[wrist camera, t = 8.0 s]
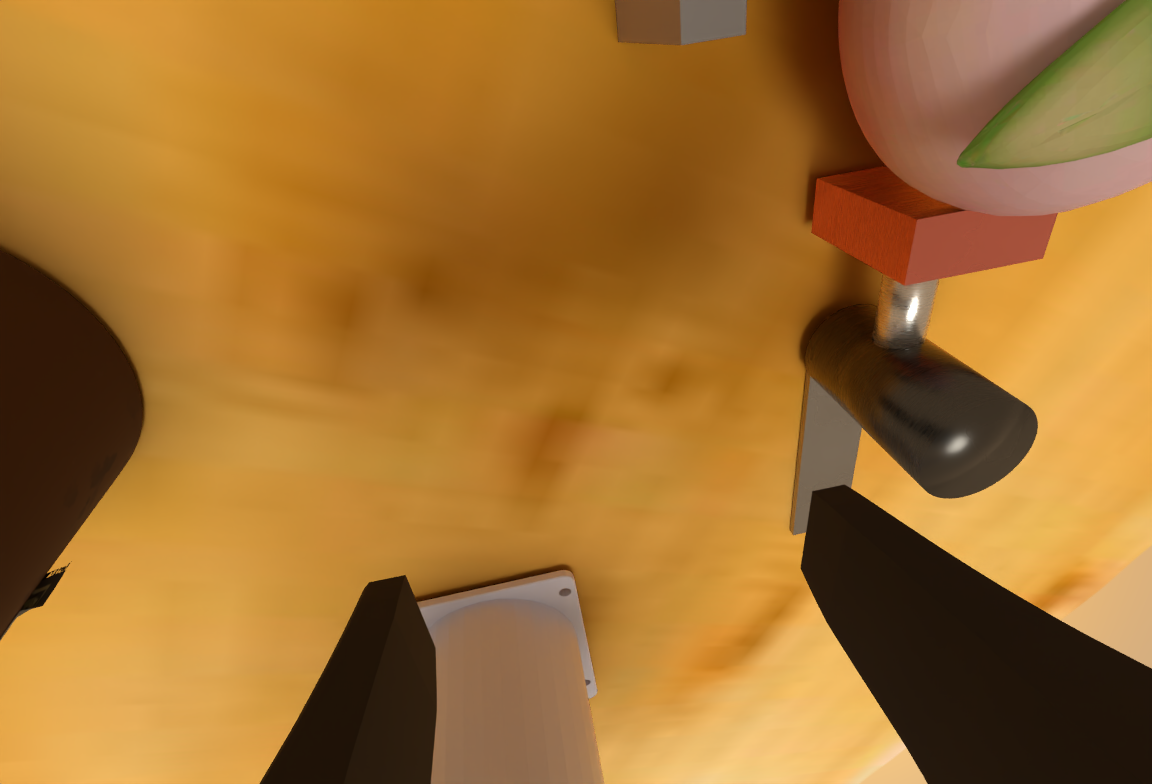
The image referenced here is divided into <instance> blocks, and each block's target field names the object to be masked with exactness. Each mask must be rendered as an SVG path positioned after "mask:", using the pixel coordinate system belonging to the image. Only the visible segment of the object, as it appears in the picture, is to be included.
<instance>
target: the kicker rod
mask: <svg viewBox="0 0 1152 784" xmlns="http://www.w3.org/2000/svg"><path fill="white" fill-rule="evenodd" d="M1057 214H1058V213H1054V214H1048V215H1039V216H995V215H990V214H985V213H980V212H975V211H970V210H965V209H961V208H958V207H955V206H952V205H950V204H947V203H944V202H941V201H938V200H935V199H933V198H931V197H929V196H927V195H926V194H924V193H922V192H920V191H919V190H917V189H915V188H913V187H911V186H910V185H908V184H907V183H906V182H904V181H903V180H902V179H901V178H899V177H898V176H897V175H896V174H895V173H893V172H892V171H891V170H890V169H889V168H888V167H887V166H882V167H877V168H871V169H866V170H860V171H855V172H849V173H844V174H839V175H833V176H828V177H822V178H817V181H816V191H815V202H814V212H813V223H812V233H813V234H815V235H817V236H818V237H820V238H822V239H824V240H825V241H827V242H829V243H831V244H832V245H834V246H836V247H837V248H839V249H841V250H843V251H844V252H846V253H848V254H850V255H851V256H853V257H855V258H857V259H858V260H860V261H862V262H864V263H865V264H867V265H869V266H871V267H872V268H874V269H876V270H878V271H879V272H881V273H883V277H882V282H881V288H880V294H879V300H878V306H874V305H868V304H859V305H854V306H850V307H847V308H844V309H842V310H840V311H838V312H836V313H835V314H833V315H831V316H830V317H829V318H828V319H826V320H825V321H824V322H823V323H822V324H821V325H820V326H819V327H818V328H817V330H816V331H815V333H814V334H813V336H812V337H811V339H810V341H809V343H808V346H807V349H806V354H805V364H806V368H807V371H808V373H809V375H810V376H811V377H812V378H813V379H814V380H815V381H816V382H817V383H818V384H819V385H820V386H821V387H822V388H823V389H824V390H825V391H826V392H827V393H828V394H829V395H830V396H831V397H832V398H833V399H834V400H835V401H836V402H837V403H838V404H839V405H840V406H841V407H842V408H843V409H844V410H845V411H846V412H847V413H848V414H849V415H850V416H851V417H852V418H853V419H854V420H855V421H856V422H857V423H858V424H859V425H860V426H861V427H862V428H863V429H864V430H865V431H866V432H867V433H868V434H869V435H870V436H871V437H872V438H873V439H874V440H875V441H876V442H877V443H878V444H879V445H880V446H881V447H882V448H883V449H884V450H885V451H886V452H887V453H888V454H889V455H890V456H891V457H892V458H893V459H894V460H895V461H896V462H897V463H898V464H899V465H900V466H901V467H902V468H903V469H904V470H905V471H906V472H907V473H908V474H909V475H910V476H911V477H912V478H913V479H914V480H915V481H916V482H917V483H918V484H919V485H920V486H921V487H922V488H923V489H924V490H926V491H927V492H928V493H929V494H931V495H933V496H936V497H939V498H959V497H964V496H968V495H971V494H974V493H977V492H979V491H981V490H984V489H986V488H988V487H989V486H991V485H993V484H995V483H996V482H998V481H999V480H1001V479H1002V478H1003V477H1005V476H1006V475H1007V474H1008V473H1010V472H1011V471H1012V470H1013V469H1014V468H1015V467H1016V466H1017V465H1018V464H1019V463H1020V462H1021V461H1022V460H1023V458H1024V457H1025V456H1026V454H1027V453H1028V451H1029V450H1030V448H1031V446H1032V444H1033V442H1034V440H1035V437H1036V434H1037V428H1038V422H1037V417H1036V415H1035V413H1034V411H1033V410H1032V409H1031V408H1030V407H1029V406H1028V405H1026V404H1025V403H1023V402H1022V401H1020V400H1019V399H1017V398H1015V397H1014V396H1012V395H1011V394H1009V393H1008V392H1006V391H1005V390H1003V389H1002V388H1000V387H999V386H997V385H996V384H994V383H993V382H991V381H990V380H988V379H987V378H985V377H984V376H982V375H981V374H979V373H978V372H976V371H975V370H973V369H972V368H970V367H969V366H967V365H966V364H964V363H963V362H961V361H960V360H958V359H956V358H955V357H953V356H952V355H950V354H949V353H947V352H946V351H944V350H943V349H941V348H940V347H938V346H937V345H935V344H934V343H932V342H931V341H929V340H928V339H926V335H927V331H928V326H929V322H930V318H931V313H932V309H933V305H934V300H935V296H936V292H937V287H938V283H939V279H941V278H946V277H952V276H957V275H962V274H967V273H972V272H977V271H982V270H987V269H992V268H997V267H1002V266H1007V265H1012V264H1017V263H1022V262H1027V261H1032V260H1037V259H1042V258H1043V257H1044V254H1045V250H1046V247H1047V244H1048V241H1049V238H1050V235H1051V232H1052V229H1053V226H1054V223H1055V220H1056V217H1057Z"/></svg>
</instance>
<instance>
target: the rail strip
mask: <svg viewBox="0 0 1152 784" xmlns="http://www.w3.org/2000/svg"><path fill="white" fill-rule="evenodd" d="M861 429H862V427H861V426H860V425H859V424H858V423H857V422H856V421H855V420H854V419H853V418H852V417H851V416H850V415H849V414H848V413H847V412H846V411H845V410H844V409H843V408H842V407H841V406H840V405H839V404H838V403H837V402H836V401H835V400H834V399H833V398H832V397H831V396H830V395H829V394H828V393H827V392H826V391H825V390H824V389H823V388H822V387H821V386H820V385H819V384H818V383H817V382H816V381H815V380H814V379H813V378H812V377H811V376H810V375H809V373H808V371H807V370H806V380H805V389H804V399H803V408H802V418H801V428H800V437H799V447H798V456H797V466H796V476H795V485H794V495H793V504H792V514H791V523H790V531H791V533H792V534H793V535H796V534H801V533H805V532H806V529H807V523H808V516H809V509H810V503H811V496H812V491H815V490H820V489H825V488H830V487H835V486H840V485H844V484H845V485H846V486H848V487H850V488H851V485H852V480H853V474H854V468H855V463H856V457H857V452H858V446H859V440H860V435H861Z"/></svg>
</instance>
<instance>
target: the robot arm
mask: <svg viewBox="0 0 1152 784" xmlns="http://www.w3.org/2000/svg"><path fill="white" fill-rule="evenodd" d="M801 570H802V572H803V574H804V577H805V579H806V581H807V583H808V585H809V587H810V589H811V591H812V594H813V596H814V598H815V600H816V602H817V604H818V606H819V608H820V610H821V612H822V614H823V616H824V618H825V620H826V622H827V623H828V625H829V627H830V628H831V630H832V631H833V633H834V635H835V636H836V638H837V639H838V641H839V643H840V644H841V646H842V647H843V649H844V651H845V652H846V654H847V655H848V657H849V658H850V660H851V662H852V663H853V665H854V666H855V668H856V669H857V671H858V673H859V674H860V676H861V677H862V679H863V680H864V682H865V683H866V685H867V687H868V688H869V690H870V691H871V693H872V694H873V696H874V697H875V699H876V701H877V702H878V704H879V705H880V707H881V708H882V710H883V711H884V713H885V715H886V716H887V718H888V719H889V721H890V722H891V724H892V725H893V727H894V729H895V730H896V732H897V733H898V735H899V736H900V738H901V740H902V741H903V743H904V744H905V746H906V747H907V749H908V751H909V752H910V754H911V756H912V757H913V759H914V761H915V762H916V764H917V766H918V768H919V769H920V771H921V772H922V774H923V776H924V778H925V780H926V782H927V783H928V784H1152V669H1151V668H1149V667H1147V666H1145V665H1144V664H1142V663H1140V662H1137V661H1136V660H1134V659H1132V658H1130V657H1128V656H1126V655H1124V654H1122V653H1120V652H1118V651H1116V650H1115V649H1113V648H1110V647H1109V646H1107V645H1105V644H1103V643H1101V642H1099V641H1097V640H1095V639H1093V638H1091V637H1089V636H1088V635H1086V634H1084V633H1082V632H1080V631H1078V630H1077V629H1075V628H1073V627H1071V626H1069V625H1068V624H1066V623H1064V622H1062V621H1060V620H1059V619H1057V618H1055V617H1053V616H1052V615H1050V614H1048V613H1046V612H1045V611H1043V610H1041V609H1040V608H1038V607H1036V606H1034V605H1033V604H1031V603H1029V602H1027V601H1026V600H1024V599H1022V598H1021V597H1019V596H1017V595H1015V594H1014V593H1012V592H1010V591H1009V590H1007V589H1005V588H1004V587H1002V586H1000V585H999V584H997V583H995V582H994V581H992V580H991V579H989V578H987V577H986V576H984V575H982V574H981V573H979V572H978V571H976V570H974V569H973V568H971V567H970V566H968V565H966V564H965V563H963V562H962V561H960V560H959V559H957V558H955V557H954V556H952V555H951V554H949V553H948V552H946V551H945V550H943V549H942V548H940V547H938V546H937V545H935V544H934V543H932V542H931V541H929V540H928V539H926V538H925V537H923V536H922V535H920V534H919V533H917V532H916V531H914V530H913V529H911V528H910V527H908V526H907V525H905V524H904V523H902V522H901V521H899V520H898V519H896V518H895V517H893V516H892V515H890V514H889V513H887V512H886V511H884V510H883V509H881V508H880V507H878V506H877V505H875V504H874V503H872V502H871V501H869V500H868V499H866V498H865V497H863V496H862V495H860V494H859V493H857V492H856V491H854V490H853V489H851V488H850V487H848V486H846V485H845V484H844V485H840V486H835V487H830V488H825V489H820V490H815V491H812V496H811V503H810V509H809V516H808V523H807V529H806V536H805V543H804V549H803V556H802V563H801ZM564 588H565V589H564ZM596 694H597V686H596V681H595V676H594V672H593V667H592V662H591V657H590V652H589V647H588V642H587V638H586V633H585V628H584V623H583V618H582V613H581V609H580V604H579V599H578V594H577V589H576V584H575V579H574V575H573V573H572V572H570V571H567V570H560V571H555V572H551V573H546V574H542V575H537V576H533V577H528V578H524V579H519V580H515V581H510V582H506V583H501V584H497V585H492V586H488V587H483V588H479V589H474V590H470V591H465V592H461V593H456V594H452V595H447V596H443V597H438V598H434V599H429V600H425V601H420V602H416V599H415V597H414V594H413V592H412V590H411V587H410V585H409V582H408V580H407V578H406V575H403V576H399V577H394V578H389V579H384V580H379V581H374V582H369V583H368V585H367V586H366V587H365V588H364V590H363V592H362V595H361V597H360V599H359V601H358V603H357V605H356V607H355V609H354V611H353V613H352V615H351V617H350V620H349V622H348V624H347V626H346V628H345V630H344V632H343V634H342V636H341V638H340V640H339V642H338V644H337V646H336V648H335V650H334V652H333V654H332V656H331V657H330V659H329V661H328V663H327V665H326V667H325V669H324V671H323V673H322V675H321V677H320V678H319V680H318V682H317V684H316V686H315V688H314V690H313V691H312V693H311V695H310V697H309V699H308V701H307V703H306V704H305V706H304V708H303V710H302V712H301V714H300V715H299V717H298V719H297V721H296V723H295V724H294V726H293V728H292V730H291V732H290V733H289V735H288V737H287V738H286V740H285V742H284V743H283V745H282V747H281V748H280V750H279V752H278V754H277V755H276V757H275V759H274V760H273V762H272V764H271V765H270V767H269V769H268V770H267V772H266V774H265V775H264V777H263V779H262V780H261V782H260V784H604V780H603V775H602V769H601V764H600V758H599V753H598V748H597V742H596V737H595V731H594V726H593V720H592V715H591V709H590V704H589V698H592V697H594V696H595V695H596Z"/></svg>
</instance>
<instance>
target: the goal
mask: <svg viewBox="0 0 1152 784" xmlns="http://www.w3.org/2000/svg"><path fill="white" fill-rule="evenodd" d="M615 5H616V17H617V30H618V42H627V43H647V44H667V45H685V44H691V43H697V42H704V41H710V40H716V39H722V38H728V37H734V36H740V35H746V8H747V0H615Z"/></svg>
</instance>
